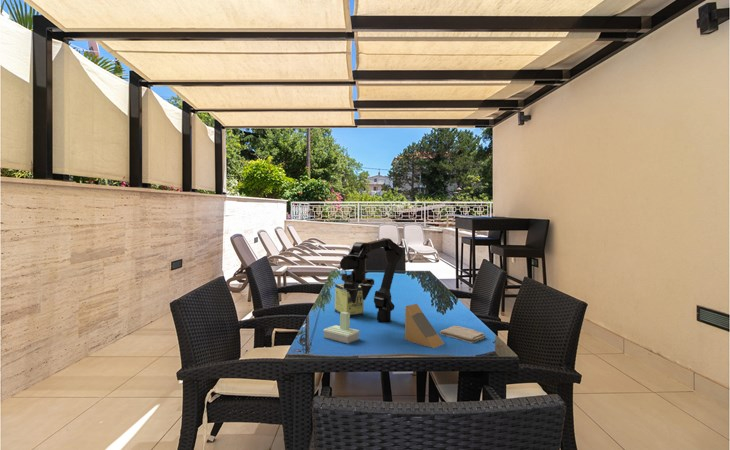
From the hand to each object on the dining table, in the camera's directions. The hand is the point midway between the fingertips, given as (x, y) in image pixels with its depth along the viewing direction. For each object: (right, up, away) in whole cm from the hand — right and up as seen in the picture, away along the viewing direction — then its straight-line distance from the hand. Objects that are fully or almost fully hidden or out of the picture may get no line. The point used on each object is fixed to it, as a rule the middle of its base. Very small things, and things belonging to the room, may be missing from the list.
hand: (358, 301), depth 185 cm
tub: (-7, -13, -16) cm, 22 cm away
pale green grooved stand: (-7, -10, -16) cm, 20 cm away
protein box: (-6, -12, +28) cm, 31 cm away
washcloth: (+47, -15, -9) cm, 50 cm away
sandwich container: (+29, -14, -19) cm, 37 cm away
